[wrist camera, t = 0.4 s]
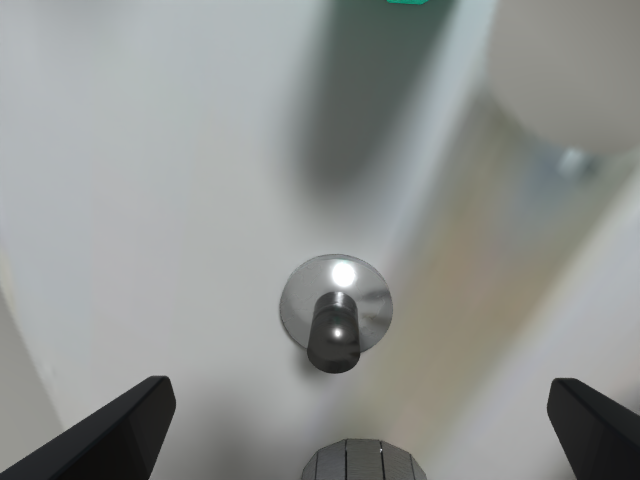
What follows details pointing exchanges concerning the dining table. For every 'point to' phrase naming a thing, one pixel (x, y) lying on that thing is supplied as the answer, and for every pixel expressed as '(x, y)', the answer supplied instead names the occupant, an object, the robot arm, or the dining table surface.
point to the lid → (336, 310)
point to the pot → (362, 462)
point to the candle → (408, 1)
